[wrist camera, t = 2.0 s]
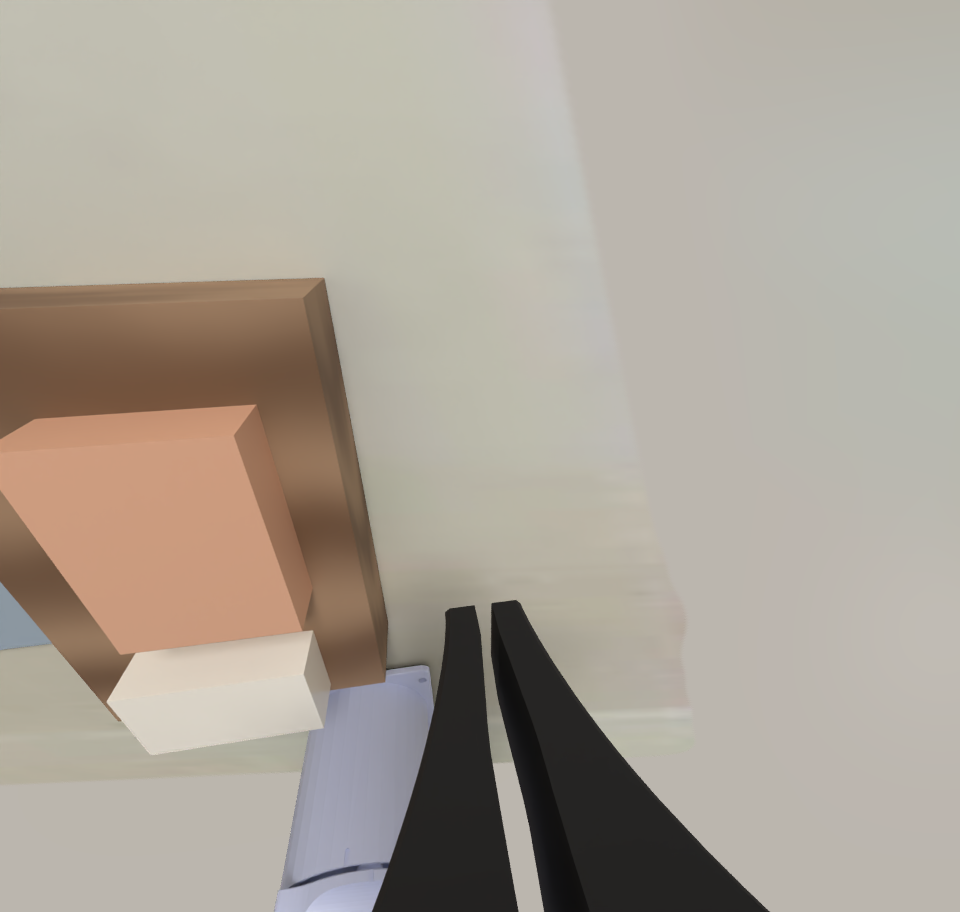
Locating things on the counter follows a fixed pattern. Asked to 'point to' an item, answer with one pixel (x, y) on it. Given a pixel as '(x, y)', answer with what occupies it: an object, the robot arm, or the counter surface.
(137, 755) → the counter surface
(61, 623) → the brown wooden block
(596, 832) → the robot arm
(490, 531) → the counter surface
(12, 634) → the mat
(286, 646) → the cream tile
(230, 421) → the terracotta tile
